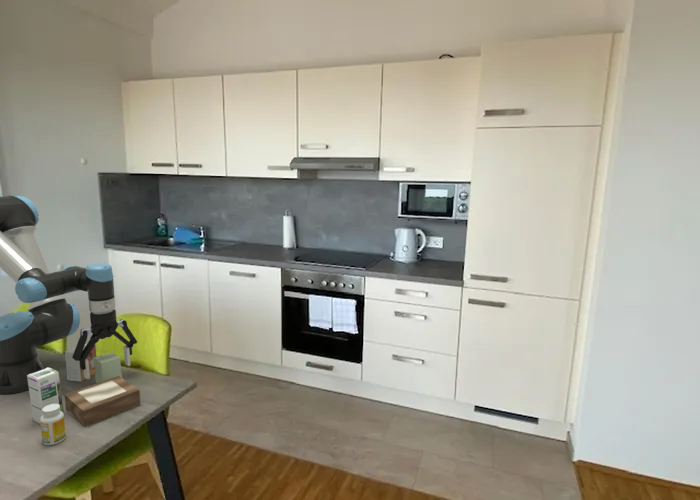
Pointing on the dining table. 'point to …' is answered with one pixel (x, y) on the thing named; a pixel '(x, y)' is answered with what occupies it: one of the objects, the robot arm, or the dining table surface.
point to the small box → (78, 365)
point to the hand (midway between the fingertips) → (108, 371)
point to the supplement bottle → (52, 425)
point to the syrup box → (44, 391)
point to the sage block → (107, 367)
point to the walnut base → (102, 400)
